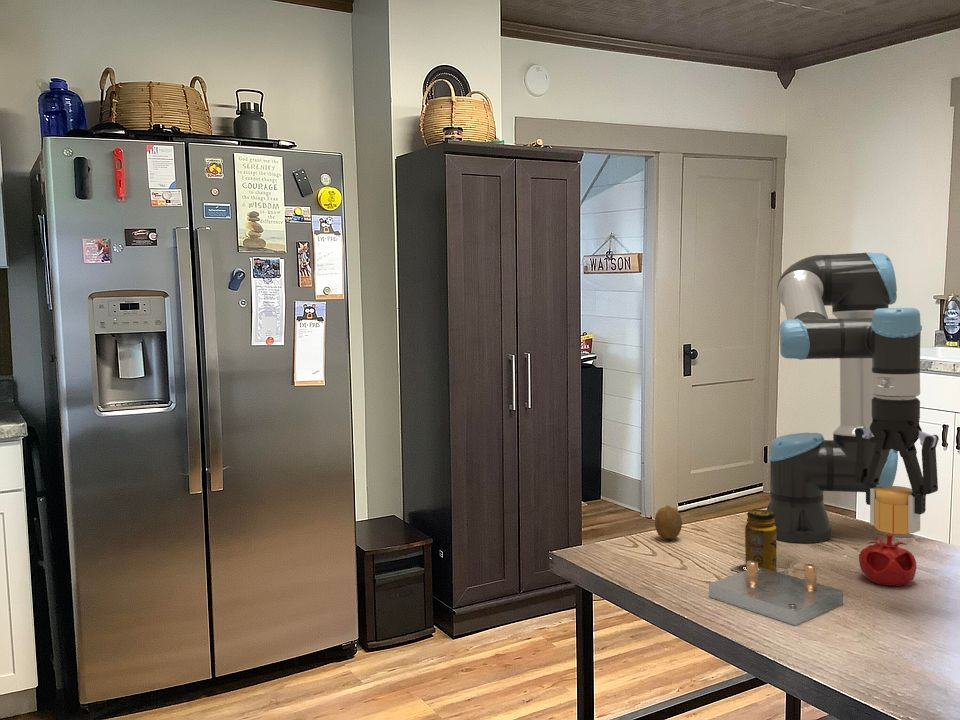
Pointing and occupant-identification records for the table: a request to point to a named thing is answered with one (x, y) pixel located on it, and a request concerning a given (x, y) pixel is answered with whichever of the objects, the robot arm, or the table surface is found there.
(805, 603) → the plate
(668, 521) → the fruit
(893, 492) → the wire nut
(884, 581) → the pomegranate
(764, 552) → the condiment
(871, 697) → the table surface
